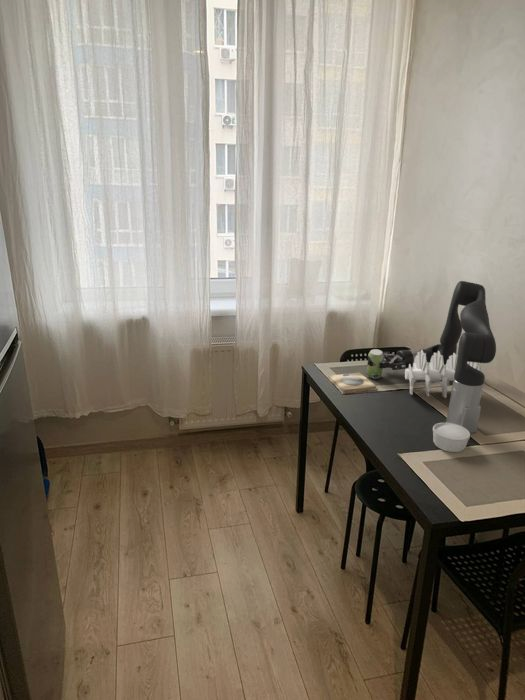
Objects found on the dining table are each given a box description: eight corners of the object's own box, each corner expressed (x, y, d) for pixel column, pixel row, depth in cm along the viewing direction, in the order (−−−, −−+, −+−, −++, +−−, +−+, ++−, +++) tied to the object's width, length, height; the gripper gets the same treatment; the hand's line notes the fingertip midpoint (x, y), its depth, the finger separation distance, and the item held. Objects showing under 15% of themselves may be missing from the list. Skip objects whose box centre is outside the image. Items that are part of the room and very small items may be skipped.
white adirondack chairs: (401, 397, 203) (467, 399, 200) (409, 397, 185) (480, 399, 182) (402, 351, 205) (467, 353, 202) (409, 347, 187) (480, 348, 184)
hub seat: (375, 389, 199) (376, 385, 199) (343, 393, 195) (343, 388, 195) (359, 375, 212) (359, 371, 211) (328, 378, 208) (328, 374, 207)
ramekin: (438, 432, 169) (440, 418, 167) (472, 444, 162) (475, 429, 161) (424, 445, 161) (427, 431, 159) (460, 458, 154) (463, 443, 152)
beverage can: (380, 374, 214) (383, 347, 209) (382, 381, 207) (385, 354, 203) (364, 373, 214) (367, 346, 210) (366, 380, 207) (369, 353, 203)
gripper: (401, 344, 218) (367, 347, 213) (420, 356, 205) (384, 359, 200) (399, 361, 220) (365, 364, 216) (417, 373, 208) (382, 377, 203)
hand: (374, 361), depth 208 cm, fingers open, 8 cm apart
